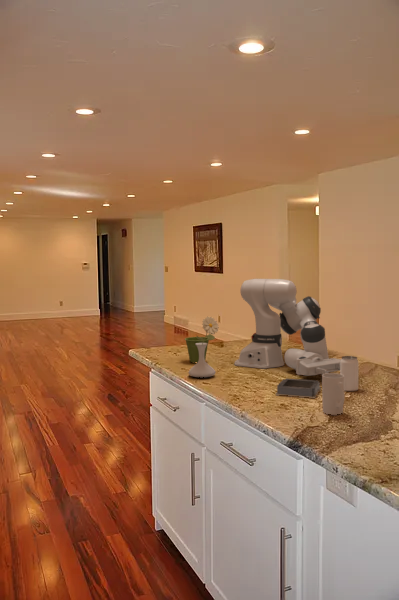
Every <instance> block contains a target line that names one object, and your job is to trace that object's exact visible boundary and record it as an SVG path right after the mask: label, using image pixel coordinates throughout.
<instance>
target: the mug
mask: <svg viewBox="0 0 399 600" xmlns="http://www.w3.org/2000/svg"><path fill="white" fill-rule="evenodd" d="M321 390H322V391H321V392H322V393H321V395H322V396H321V397H322V403H321V404H322V412H324V413H323V414H325V413H326V415H328V414H331V415H330V416H338V415H337V414H340V415H342V414H343V413H344V404H345V403H344V402H345V391H344V375H342V374H340V373H336V372H328V373H326V374H321ZM341 413H342V414H341Z"/></svg>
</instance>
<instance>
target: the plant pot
mask: <svg viewBox="0 0 399 600" xmlns="http://www.w3.org/2000/svg"><path fill="white" fill-rule="evenodd" d="M199 337H200V338H203V339H204V338H205V336H199ZM184 341H185V343H186V347H187V352H188V358H189V362H190V361H191V362H197V363H198V361H199V351H198V347H197V346H196V343H202V342H203V340H199V339H197V336H191V337H185V338H184ZM209 341H210V340H209V339H208V338H207V337H206V338H205V340H204V342H203V343H207V346H206V348H205V353H204V358H205V360H206V357H207V352H208V347H209V346H208V345H209ZM191 362H190V363H191ZM197 363H196V364H197Z"/></svg>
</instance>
